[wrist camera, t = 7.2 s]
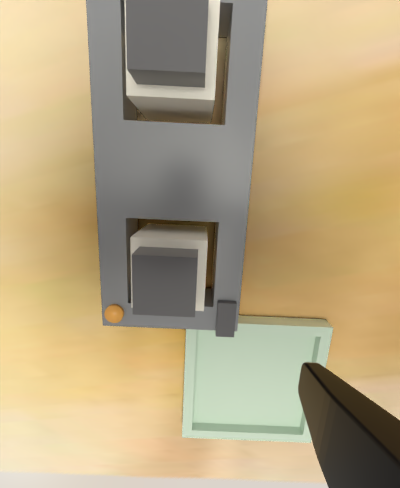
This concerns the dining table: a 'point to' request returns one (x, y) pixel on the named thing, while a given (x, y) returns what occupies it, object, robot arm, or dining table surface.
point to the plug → (168, 270)
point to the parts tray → (251, 379)
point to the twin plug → (172, 58)
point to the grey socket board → (174, 165)
